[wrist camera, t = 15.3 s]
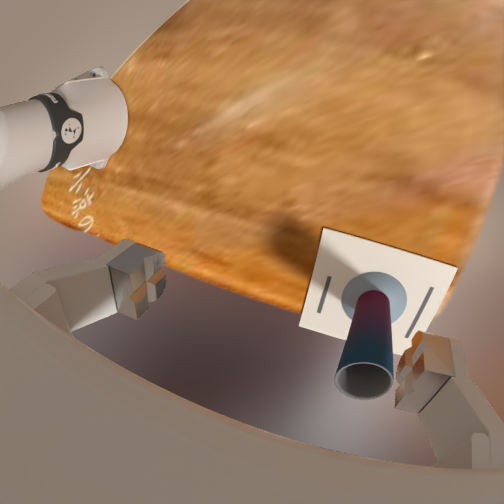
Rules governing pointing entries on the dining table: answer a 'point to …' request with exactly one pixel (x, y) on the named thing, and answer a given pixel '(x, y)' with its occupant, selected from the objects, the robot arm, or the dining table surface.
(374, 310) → the cup
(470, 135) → the dining table surface
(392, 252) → the paper sheet
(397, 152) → the dining table surface
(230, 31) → the dining table surface
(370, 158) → the dining table surface
